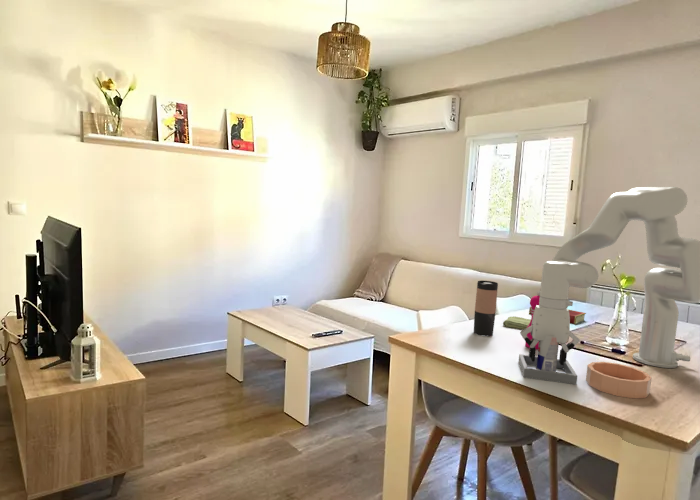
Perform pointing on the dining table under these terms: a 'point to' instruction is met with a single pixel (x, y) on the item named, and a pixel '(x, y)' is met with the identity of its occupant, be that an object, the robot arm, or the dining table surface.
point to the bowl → (618, 379)
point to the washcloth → (517, 322)
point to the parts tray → (547, 375)
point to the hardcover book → (573, 316)
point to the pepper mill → (533, 303)
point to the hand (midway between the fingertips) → (546, 361)
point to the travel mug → (485, 308)
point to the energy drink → (547, 354)
